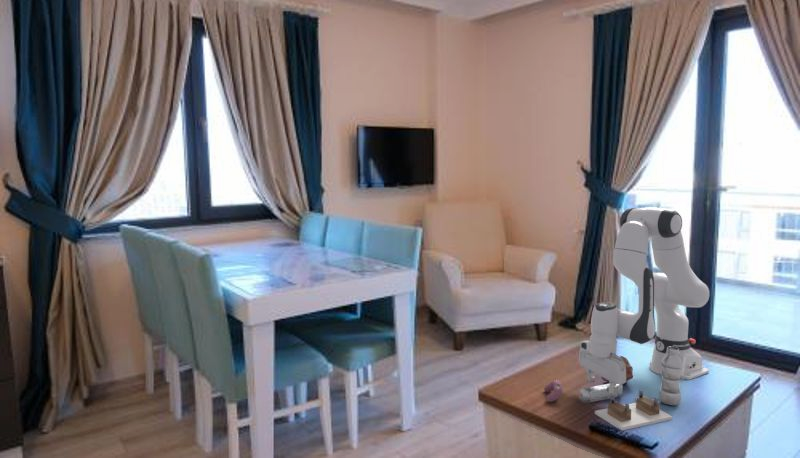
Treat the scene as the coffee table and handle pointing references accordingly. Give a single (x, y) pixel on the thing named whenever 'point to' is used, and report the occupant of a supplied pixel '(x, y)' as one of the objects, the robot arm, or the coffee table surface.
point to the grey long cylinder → (599, 393)
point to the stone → (628, 370)
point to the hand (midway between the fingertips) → (600, 386)
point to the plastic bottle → (671, 377)
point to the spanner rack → (633, 413)
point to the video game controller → (554, 390)
